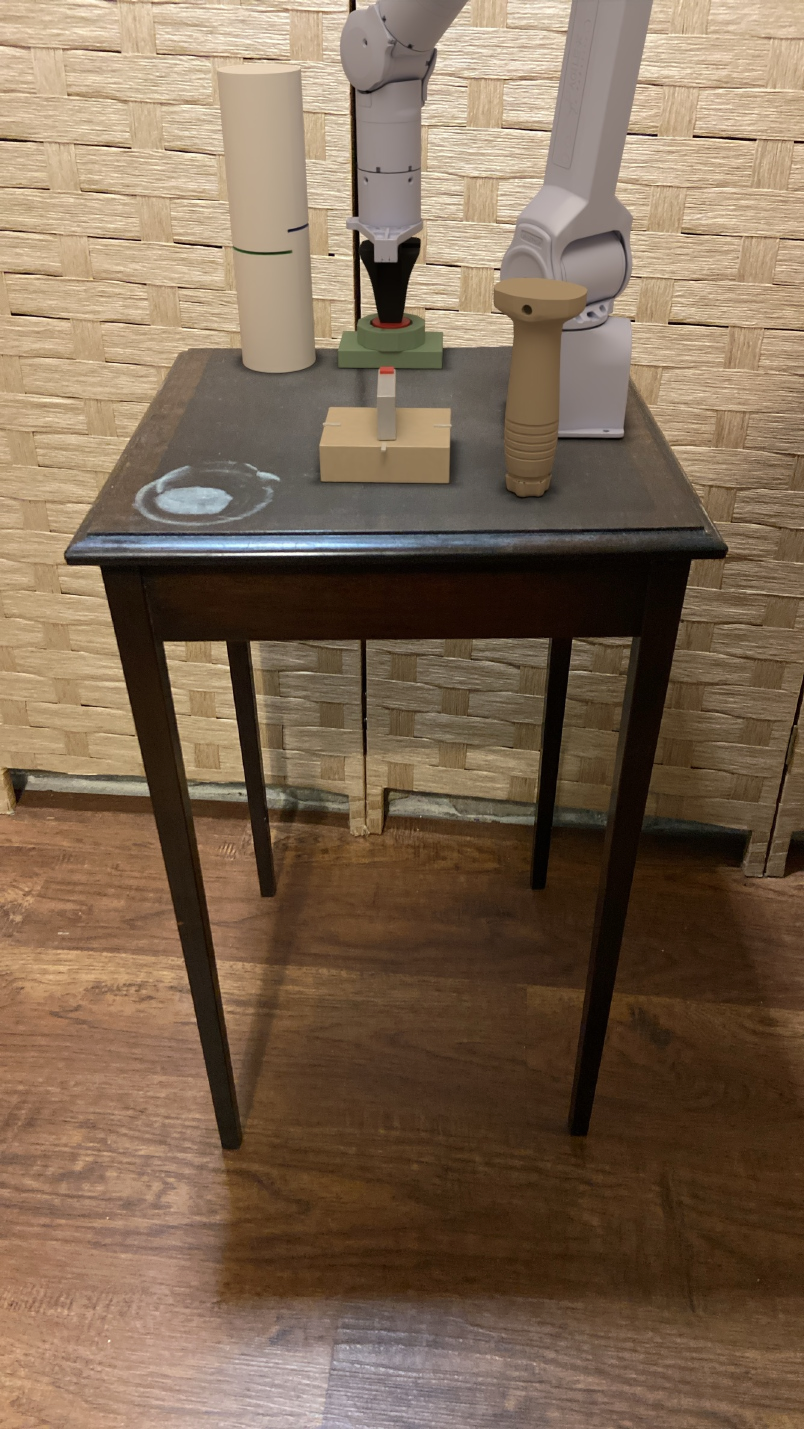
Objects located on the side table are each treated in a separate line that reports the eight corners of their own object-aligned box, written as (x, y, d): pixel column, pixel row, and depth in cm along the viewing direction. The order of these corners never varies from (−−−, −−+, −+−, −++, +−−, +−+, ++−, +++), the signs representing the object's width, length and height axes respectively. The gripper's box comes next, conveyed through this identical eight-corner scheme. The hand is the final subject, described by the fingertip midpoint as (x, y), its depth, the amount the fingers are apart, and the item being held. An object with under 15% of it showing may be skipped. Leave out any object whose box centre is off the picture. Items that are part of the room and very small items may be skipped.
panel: (451, 437, 95) (452, 401, 93) (450, 489, 86) (451, 450, 85) (330, 436, 95) (329, 399, 93) (318, 487, 87) (315, 449, 85)
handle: (556, 510, 83) (573, 303, 74) (476, 494, 86) (483, 291, 77) (577, 485, 87) (596, 284, 78) (500, 470, 89) (509, 274, 80)
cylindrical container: (330, 359, 111) (318, 67, 96) (275, 378, 106) (254, 76, 92) (282, 343, 115) (263, 61, 100) (227, 360, 110) (199, 68, 96)
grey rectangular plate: (395, 440, 86) (395, 392, 84) (377, 440, 86) (376, 392, 84) (396, 411, 91) (395, 365, 89) (378, 411, 91) (378, 365, 89)
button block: (442, 347, 113) (443, 312, 111) (441, 369, 108) (442, 332, 106) (343, 346, 114) (342, 311, 112) (338, 368, 108) (336, 332, 106)
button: (410, 333, 111) (410, 315, 110) (409, 345, 108) (409, 326, 107) (374, 333, 111) (373, 314, 110) (371, 344, 108) (371, 326, 107)
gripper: (351, 151, 107) (355, 298, 115) (337, 184, 95) (343, 344, 103) (425, 152, 106) (424, 299, 115) (420, 184, 95) (420, 345, 103)
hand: (391, 321), depth 109 cm, fingers closed, pressing on button
